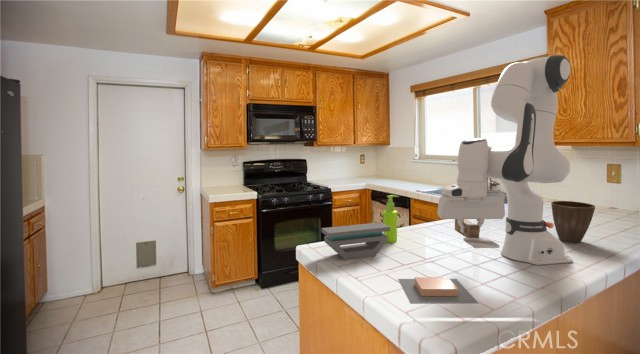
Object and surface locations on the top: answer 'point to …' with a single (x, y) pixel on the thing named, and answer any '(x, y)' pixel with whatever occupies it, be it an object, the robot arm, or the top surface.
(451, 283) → the tile
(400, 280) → the mat
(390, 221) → the soap dispenser
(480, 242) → the turner
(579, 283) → the top surface
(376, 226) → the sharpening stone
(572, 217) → the plant pot
